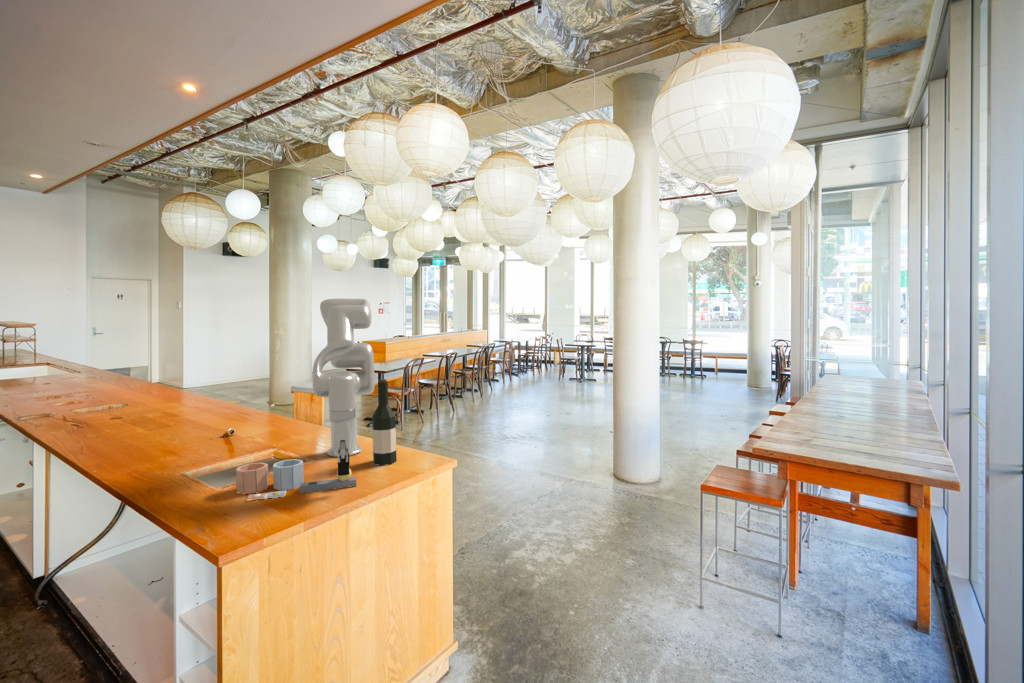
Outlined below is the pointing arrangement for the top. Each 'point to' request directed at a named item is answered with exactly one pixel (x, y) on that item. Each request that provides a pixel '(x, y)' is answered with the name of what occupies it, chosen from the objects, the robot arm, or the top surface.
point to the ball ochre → (344, 476)
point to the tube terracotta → (252, 478)
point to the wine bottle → (384, 428)
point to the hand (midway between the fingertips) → (344, 470)
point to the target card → (267, 495)
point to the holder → (326, 485)
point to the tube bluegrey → (288, 474)
